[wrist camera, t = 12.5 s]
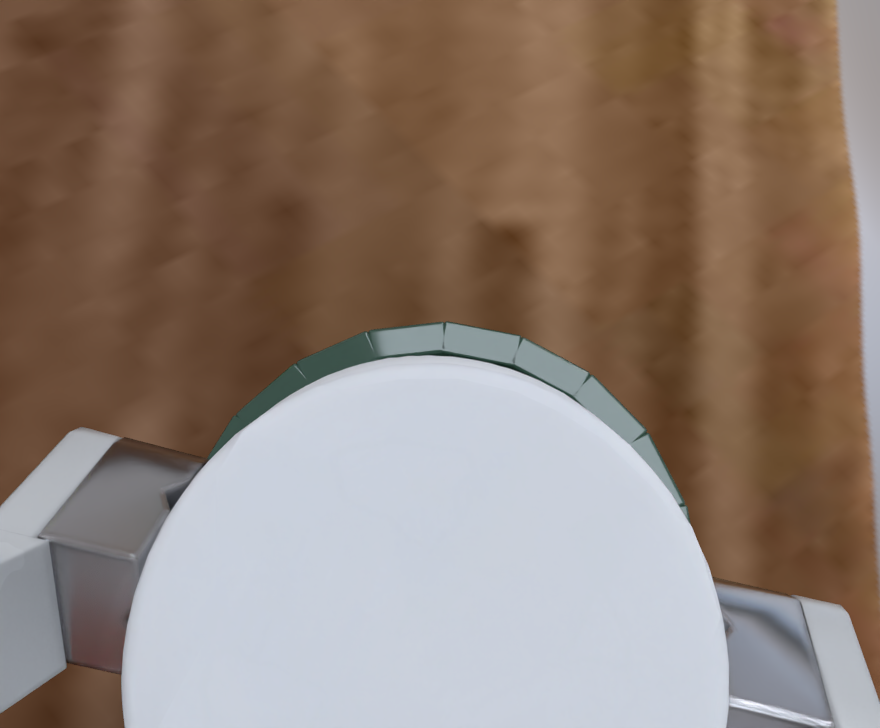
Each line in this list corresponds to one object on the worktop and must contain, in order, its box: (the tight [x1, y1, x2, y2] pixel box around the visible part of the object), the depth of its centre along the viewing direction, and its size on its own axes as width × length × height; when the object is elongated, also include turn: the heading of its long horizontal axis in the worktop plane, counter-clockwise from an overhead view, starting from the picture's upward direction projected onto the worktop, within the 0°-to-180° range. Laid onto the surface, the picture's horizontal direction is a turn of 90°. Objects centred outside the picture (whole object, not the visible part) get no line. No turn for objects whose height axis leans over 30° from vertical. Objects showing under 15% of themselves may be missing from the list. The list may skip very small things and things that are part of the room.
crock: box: [207, 321, 691, 525], centre depth 23 cm, size 12×12×9 cm
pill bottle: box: [121, 355, 729, 728], centre depth 10 cm, size 5×5×10 cm
